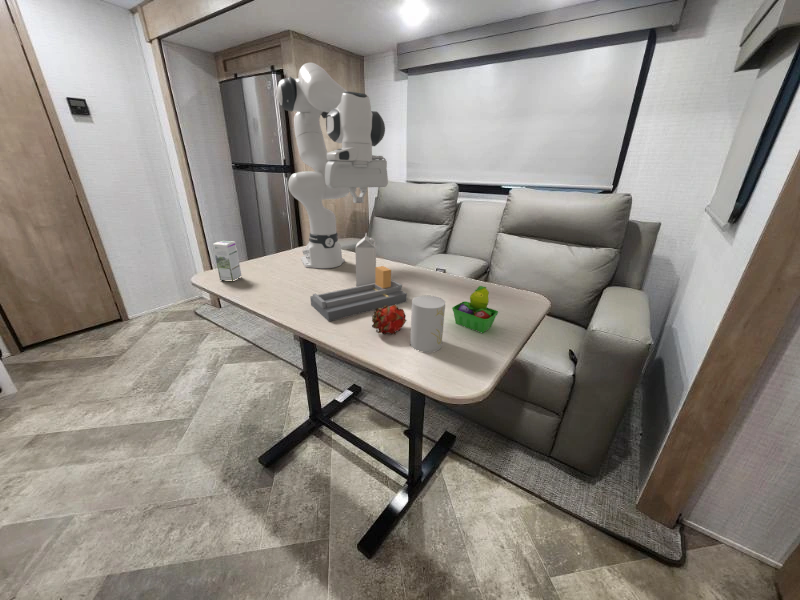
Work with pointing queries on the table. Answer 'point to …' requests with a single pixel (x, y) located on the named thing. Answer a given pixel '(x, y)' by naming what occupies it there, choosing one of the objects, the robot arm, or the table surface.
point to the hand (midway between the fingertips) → (358, 202)
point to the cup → (427, 323)
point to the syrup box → (227, 260)
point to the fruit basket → (475, 311)
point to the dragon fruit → (388, 319)
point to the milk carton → (365, 261)
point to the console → (356, 300)
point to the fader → (382, 278)
